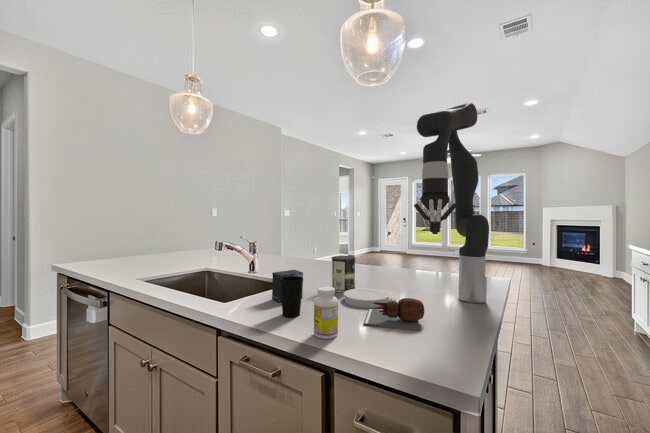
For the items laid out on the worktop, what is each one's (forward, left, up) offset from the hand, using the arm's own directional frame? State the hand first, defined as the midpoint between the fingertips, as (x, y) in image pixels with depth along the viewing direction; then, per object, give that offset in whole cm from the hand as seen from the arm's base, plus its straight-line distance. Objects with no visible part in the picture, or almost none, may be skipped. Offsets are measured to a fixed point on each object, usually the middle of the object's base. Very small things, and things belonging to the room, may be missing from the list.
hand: (434, 233), depth 96 cm
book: (+13, +2, -27) cm, 30 cm away
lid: (+22, -17, -28) cm, 39 cm away
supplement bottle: (+30, +19, -27) cm, 45 cm away
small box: (+53, -11, -28) cm, 60 cm away
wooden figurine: (+3, +2, -23) cm, 24 cm away
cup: (+45, +6, -27) cm, 53 cm away
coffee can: (+35, -31, -27) cm, 54 cm away
